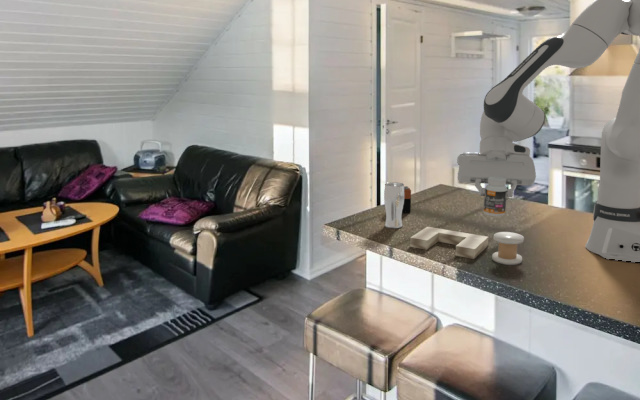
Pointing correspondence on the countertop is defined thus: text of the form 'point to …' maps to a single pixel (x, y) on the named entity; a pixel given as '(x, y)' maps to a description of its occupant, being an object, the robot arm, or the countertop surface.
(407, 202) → the battery
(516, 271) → the countertop surface
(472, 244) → the notched board
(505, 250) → the spool
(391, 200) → the beer glass
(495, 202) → the pill bottle
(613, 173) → the robot arm
